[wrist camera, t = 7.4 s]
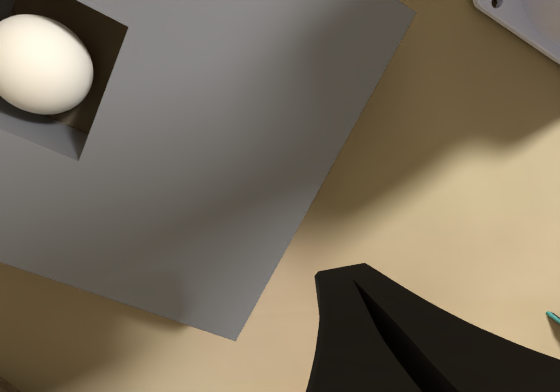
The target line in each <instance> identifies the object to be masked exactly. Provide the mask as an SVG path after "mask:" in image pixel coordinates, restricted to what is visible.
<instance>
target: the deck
mask: <svg viewBox="0 0 560 392" xmlns="http://www.w3.org/2000/svg"><path fill="white" fill-rule="evenodd" d="M77 1H79V2H81V3H83V4H85V5H87V6H89V7H91V8H92V9H94V10H96V11H98V12H100V13H102V14H104V15H106V16H108V17H110V18H112V19H114V20H116V21H118V22H120V23H122V24H123V25H125V26H127V27H128V30H127V33H126V35H125V38H124V41H123V44H122V46H121V49H120V52H119V54H118V57H117V60H116V62H115V65H114V68H113V70H112V73H111V76H110V79H109V81H108V84H107V87H106V89H105V92H104V95H103V97H102V100H101V103H100V105H99V108H98V111H97V113H96V116H95V119H94V122H93V124H92V127H91V130H90V132H89V135H88V134H86V133H84V132H81V131H79V130H77V129H75V128H72V127H70V126H68V125H65V124H63V123H61V122H58V121H56V120H54V119H52V118H49V117H47V116H45V115H42V114H36V113H31V112H28V111H25V110H22V109H20V108H18V107H15V106H14V105H12V104H10V103H9V102H7V101H6V100H5V99H4V98H2V97H1V96H0V263H3V264H6V265H9V266H12V267H15V268H18V269H21V270H24V271H27V272H30V273H33V274H36V275H39V276H42V277H45V278H48V279H51V280H54V281H57V282H60V283H63V284H66V285H69V286H72V287H75V288H78V289H81V290H84V291H87V292H90V293H93V294H96V295H99V296H102V297H105V298H108V299H111V300H114V301H117V302H120V303H123V304H126V305H129V306H132V307H135V308H138V309H141V310H144V311H147V312H150V313H153V314H156V315H159V316H162V317H165V318H168V319H171V320H174V321H177V322H180V323H183V324H186V325H189V326H192V327H195V328H198V329H201V330H204V331H207V332H210V333H213V334H216V335H219V336H222V337H225V338H228V339H231V340H234V341H236V340H237V338H238V336H239V334H240V332H241V330H242V329H243V327H244V325H245V323H246V321H247V320H248V318H249V316H250V314H251V312H252V311H253V309H254V307H255V305H256V303H257V301H258V300H259V298H260V296H261V294H262V292H263V291H264V289H265V287H266V285H267V283H268V281H269V280H270V278H271V276H272V274H273V272H274V271H275V269H276V267H277V265H278V263H279V261H280V260H281V258H282V256H283V254H284V252H285V251H286V249H287V247H288V245H289V243H290V241H291V240H292V238H293V236H294V234H295V232H296V231H297V229H298V227H299V225H300V223H301V221H302V220H303V218H304V216H305V214H306V212H307V211H308V209H309V207H310V205H311V203H312V201H313V200H314V198H315V196H316V194H317V192H318V191H319V189H320V187H321V185H322V183H323V181H324V180H325V178H326V176H327V174H328V172H329V171H330V169H331V167H332V165H333V163H334V161H335V160H336V158H337V156H338V154H339V152H340V151H341V149H342V147H343V145H344V143H345V141H346V140H347V138H348V136H349V134H350V132H351V131H352V129H353V127H354V125H355V123H356V121H357V120H358V118H359V116H360V114H361V112H362V111H363V109H364V107H365V105H366V103H367V101H368V100H369V98H370V96H371V94H372V92H373V91H374V89H375V87H376V85H377V83H378V81H379V80H380V78H381V76H382V74H383V72H384V71H385V69H386V67H387V65H388V63H389V62H390V60H391V58H392V56H393V54H394V52H395V51H396V49H397V47H398V45H399V43H400V42H401V40H402V38H403V36H404V34H405V32H406V31H407V29H408V27H409V25H410V23H411V22H412V20H413V18H414V16H415V14H416V12H415V11H414V10H412V9H411V8H409V7H408V6H406V5H404V4H403V3H401V2H400V1H398V0H77ZM14 3H15V0H0V21H2V20H4V19H6V18H8V17H11V13H12V10H13V6H14Z"/></svg>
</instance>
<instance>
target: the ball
mask: <svg viewBox="0 0 560 392" xmlns="http://www.w3.org/2000/svg"><path fill="white" fill-rule="evenodd" d="M92 81H93V65H92V61H91V57H90V55H89V53H88V50H87V48H86V47H85V45H84V44H83V42H82V41H81V40H80V38H79V37H78V36H77V35H76V34H75V33H74V32H73V31H71V30H70V29H69V28H68V27H66V26H65V25H63V24H61V23H59V22H58V21H56V20H53V19H51V18H48V17H44V16H41V15H34V14H22V15H15V16H11V17H8V18H6V19H4V20H2V21H0V96H1V97H2V98H4V99H5V100H6V101H7V102H9V103H10V104H12V105H14V106H15V107H18V108H20V109H22V110H25V111H28V112H31V113H36V114H45V115H46V114H58V113H62V112H65V111H68V110H70V109H72V108H74V107H75V106H77V105H78V104H79V103H80V102H82V101H83V99H84V98H85V97H86V96H87V94H88V92H89V90H90V88H91V85H92Z"/></svg>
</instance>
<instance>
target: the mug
mask: <svg viewBox="0 0 560 392" xmlns="http://www.w3.org/2000/svg"><path fill="white" fill-rule="evenodd" d="M0 392H20V391H19V390H17V389H16V388H15V387H13V386H12V385H11V384H9V383H8V382H7V381H5V380H4V379H3V378H1V377H0Z"/></svg>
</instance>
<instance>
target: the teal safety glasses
mask: <svg viewBox="0 0 560 392" xmlns="http://www.w3.org/2000/svg"><path fill="white" fill-rule="evenodd" d="M546 314H547V315H548V316H549V317H551V318H552V319H553V320H555V321H556V322H557V323H559V324H560V318H559V317H558V316H557V315H555V314H554V313H552V312H548V311H547V312H546Z"/></svg>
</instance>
